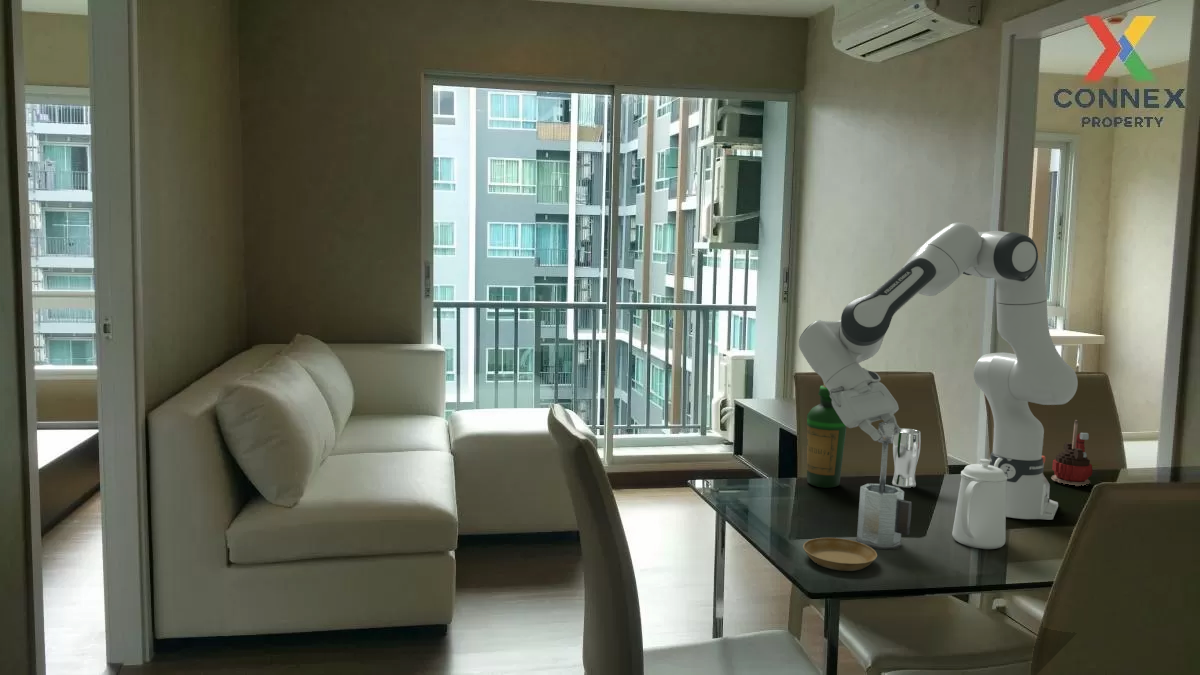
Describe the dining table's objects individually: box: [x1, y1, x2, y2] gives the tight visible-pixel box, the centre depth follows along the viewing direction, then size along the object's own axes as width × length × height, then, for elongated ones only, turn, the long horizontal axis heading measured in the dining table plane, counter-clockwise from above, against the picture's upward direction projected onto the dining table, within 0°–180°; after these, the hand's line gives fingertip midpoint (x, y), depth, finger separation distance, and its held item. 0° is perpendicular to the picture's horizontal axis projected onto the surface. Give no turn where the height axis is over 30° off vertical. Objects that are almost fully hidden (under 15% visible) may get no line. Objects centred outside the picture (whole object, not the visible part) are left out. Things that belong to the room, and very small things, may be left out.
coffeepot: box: [951, 458, 1007, 550], centre depth 197 cm, size 11×25×19 cm, turn 141°
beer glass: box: [891, 427, 921, 489], centre depth 243 cm, size 7×7×15 cm
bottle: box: [806, 383, 848, 489], centre depth 240 cm, size 11×11×28 cm
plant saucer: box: [802, 537, 878, 572], centre depth 184 cm, size 15×15×3 cm
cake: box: [1050, 419, 1093, 487], centre depth 250 cm, size 11×9×18 cm
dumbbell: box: [877, 421, 895, 493], centre depth 194 cm, size 5×5×17 cm
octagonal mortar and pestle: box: [856, 483, 913, 551], centre depth 194 cm, size 9×11×12 cm
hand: (888, 436), depth 193 cm, fingers open, 7 cm apart
